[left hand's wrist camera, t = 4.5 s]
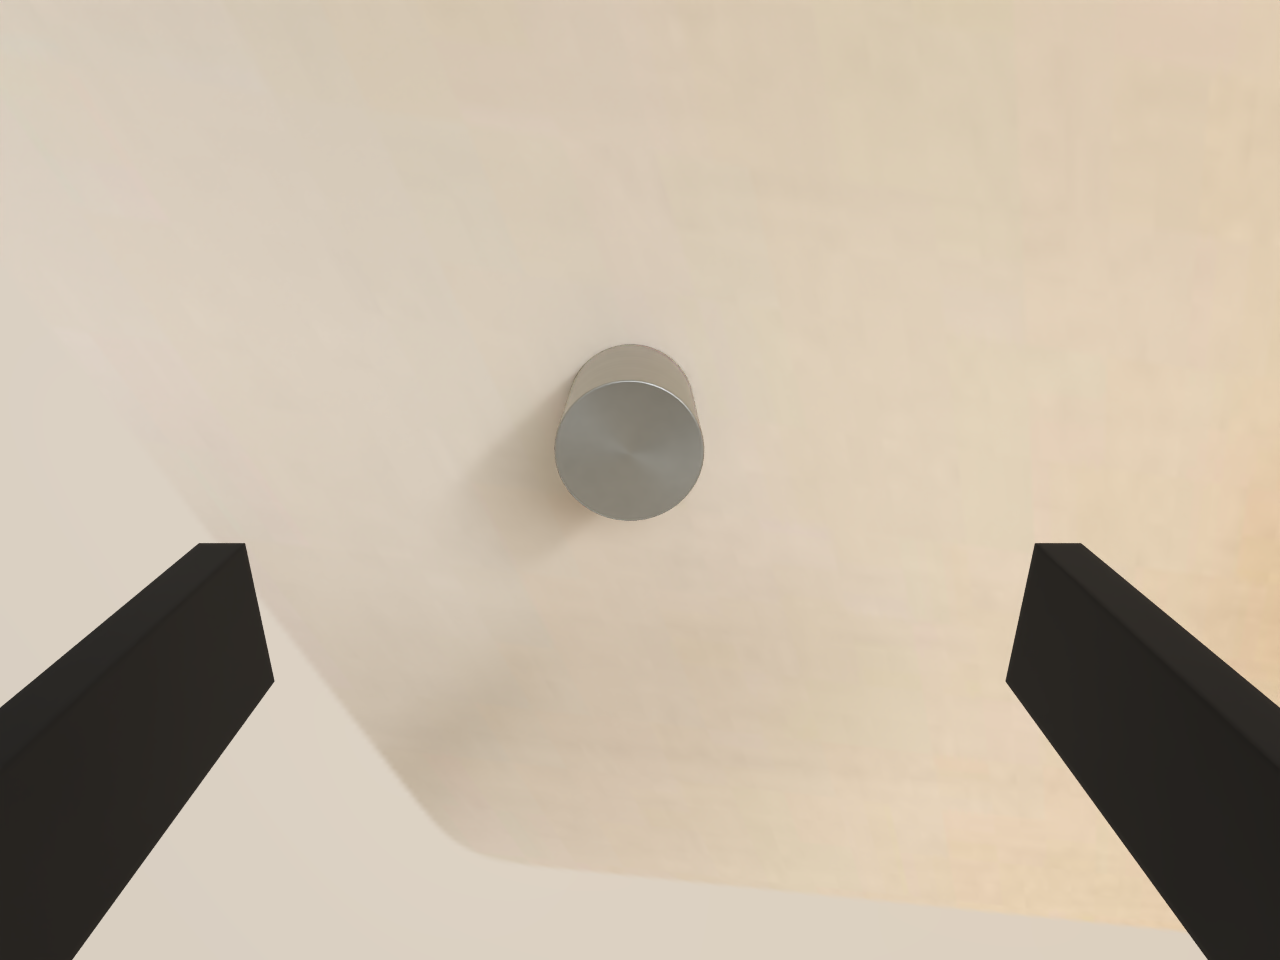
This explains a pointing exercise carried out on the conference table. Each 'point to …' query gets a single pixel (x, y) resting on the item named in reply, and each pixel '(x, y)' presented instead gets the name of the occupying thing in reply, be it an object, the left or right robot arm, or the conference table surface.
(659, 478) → the tin
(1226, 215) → the conference table surface
